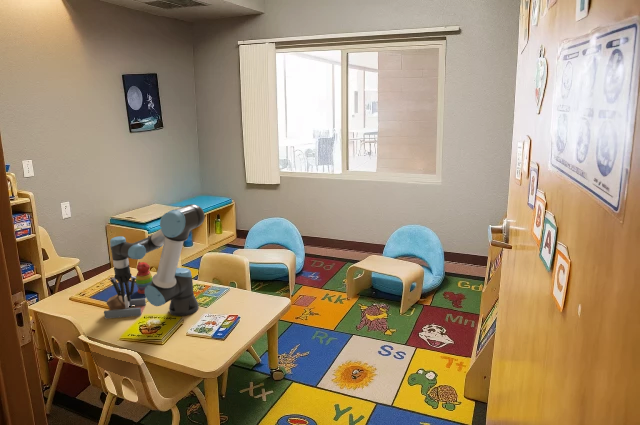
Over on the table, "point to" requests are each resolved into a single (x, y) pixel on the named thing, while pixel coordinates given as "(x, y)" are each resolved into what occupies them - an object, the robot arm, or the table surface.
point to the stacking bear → (143, 277)
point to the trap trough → (134, 311)
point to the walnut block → (116, 303)
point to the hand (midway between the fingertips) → (127, 306)
